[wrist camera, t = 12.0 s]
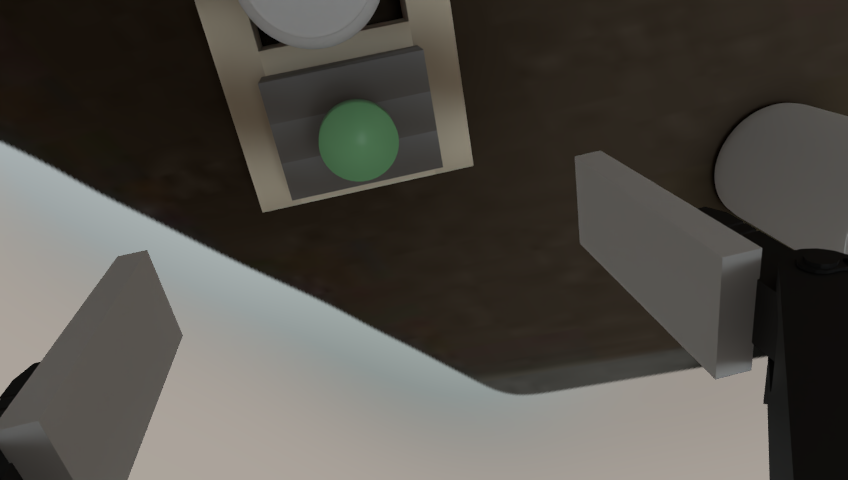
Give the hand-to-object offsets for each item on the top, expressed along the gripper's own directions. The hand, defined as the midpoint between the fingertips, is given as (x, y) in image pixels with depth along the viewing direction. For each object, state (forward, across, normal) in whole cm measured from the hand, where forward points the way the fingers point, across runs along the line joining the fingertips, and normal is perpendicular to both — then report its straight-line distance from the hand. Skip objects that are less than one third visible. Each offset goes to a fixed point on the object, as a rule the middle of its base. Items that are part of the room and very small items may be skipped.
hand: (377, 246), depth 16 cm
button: (+14, 0, 0) cm, 14 cm away
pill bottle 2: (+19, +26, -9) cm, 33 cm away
